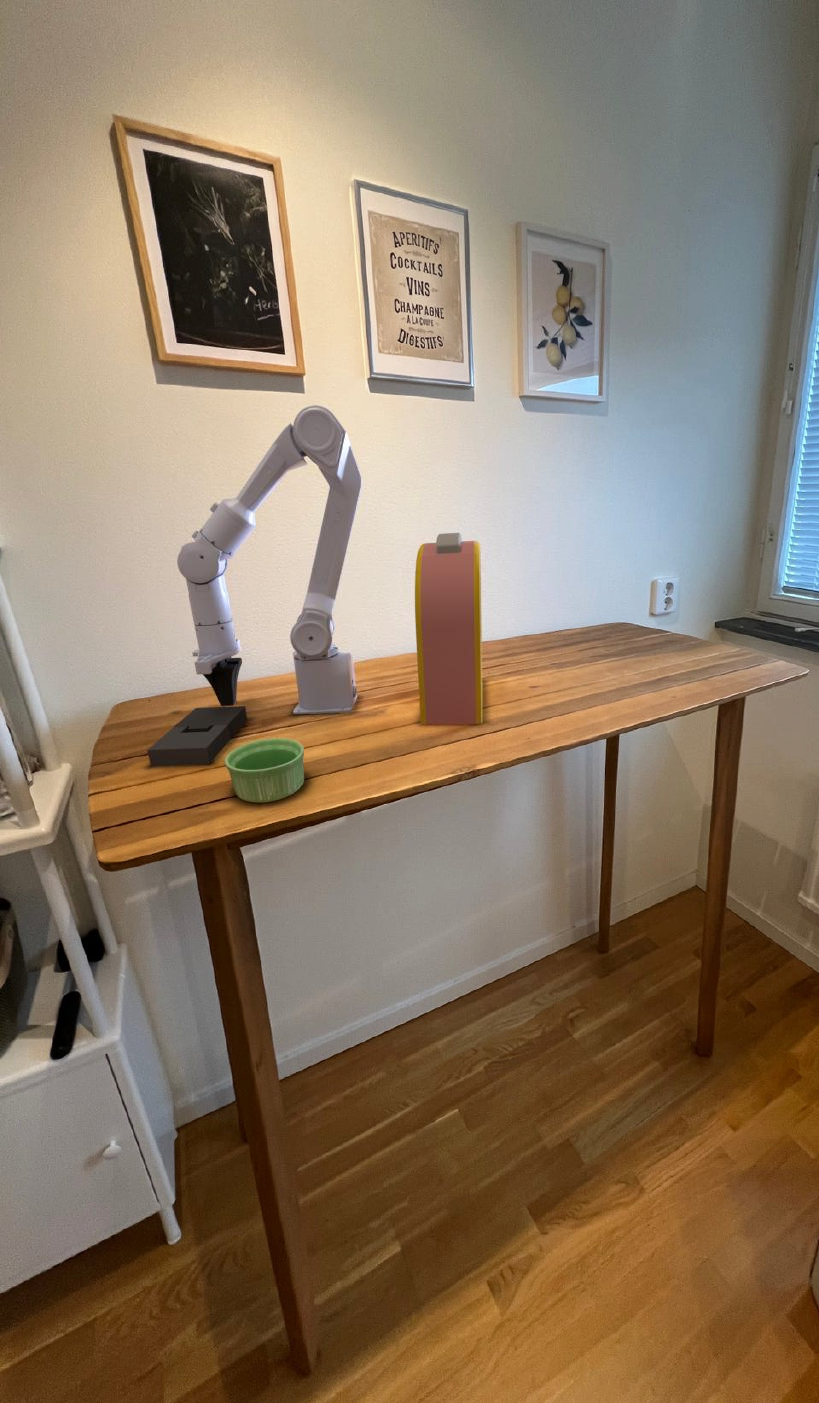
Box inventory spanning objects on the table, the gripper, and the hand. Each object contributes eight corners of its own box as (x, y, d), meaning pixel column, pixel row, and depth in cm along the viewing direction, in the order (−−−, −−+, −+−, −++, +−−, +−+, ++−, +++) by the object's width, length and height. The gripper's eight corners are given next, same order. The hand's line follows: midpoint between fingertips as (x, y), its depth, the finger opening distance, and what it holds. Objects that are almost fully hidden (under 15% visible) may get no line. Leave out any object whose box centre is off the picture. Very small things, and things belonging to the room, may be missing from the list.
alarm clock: (482, 723, 80) (479, 535, 71) (420, 724, 81) (410, 538, 72) (482, 680, 99) (480, 528, 91) (432, 681, 101) (425, 531, 92)
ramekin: (269, 764, 71) (264, 733, 69) (324, 777, 66) (319, 744, 65) (214, 796, 64) (207, 761, 62) (271, 813, 59) (265, 776, 58)
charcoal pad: (230, 739, 80) (227, 724, 79) (209, 764, 72) (206, 747, 71) (176, 742, 80) (173, 726, 79) (150, 766, 72) (146, 749, 72)
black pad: (247, 719, 87) (245, 705, 86) (227, 742, 79) (225, 727, 78) (198, 721, 88) (195, 707, 87) (173, 744, 79) (170, 729, 78)
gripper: (205, 615, 92) (220, 691, 97) (167, 633, 79) (186, 721, 83) (247, 612, 92) (259, 689, 96) (216, 630, 78) (231, 719, 83)
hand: (228, 704), depth 90 cm, fingers closed
